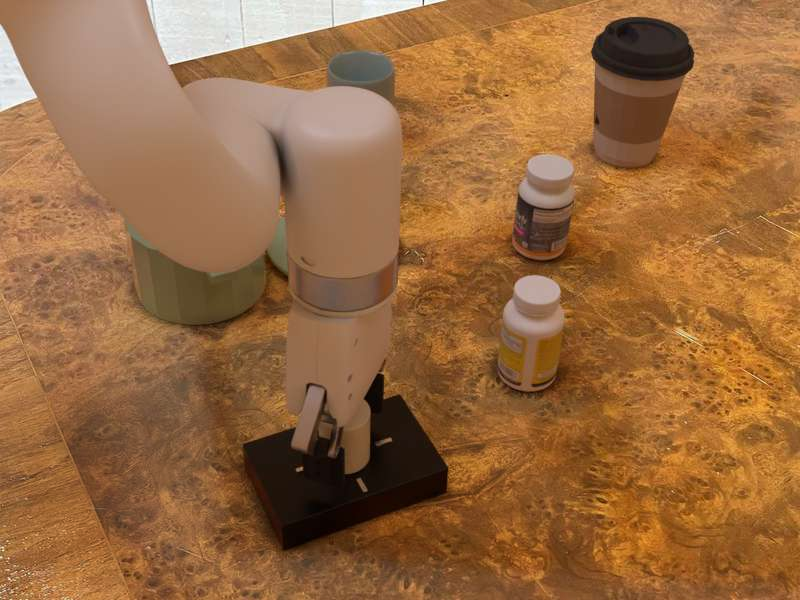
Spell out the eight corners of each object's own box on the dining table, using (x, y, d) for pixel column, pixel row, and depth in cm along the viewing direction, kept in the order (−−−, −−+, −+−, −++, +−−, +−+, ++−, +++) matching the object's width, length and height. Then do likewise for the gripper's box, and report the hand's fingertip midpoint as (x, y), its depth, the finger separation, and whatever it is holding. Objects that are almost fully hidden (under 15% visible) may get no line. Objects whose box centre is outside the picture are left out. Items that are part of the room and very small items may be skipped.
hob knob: (378, 465, 84) (379, 418, 81) (330, 481, 83) (330, 434, 79) (357, 430, 87) (357, 384, 83) (311, 445, 85) (310, 398, 82)
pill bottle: (507, 231, 114) (516, 151, 107) (559, 229, 114) (572, 149, 108) (517, 263, 109) (527, 182, 103) (571, 261, 110) (585, 181, 103)
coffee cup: (577, 122, 131) (595, 7, 122) (671, 132, 130) (696, 17, 121) (574, 172, 123) (593, 53, 113) (674, 183, 122) (702, 63, 112)
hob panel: (283, 551, 81) (281, 524, 79) (244, 468, 87) (242, 442, 85) (446, 492, 86) (449, 466, 84) (399, 418, 92) (400, 392, 90)
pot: (164, 357, 97) (153, 285, 92) (116, 247, 109) (103, 178, 104) (294, 321, 101) (291, 250, 96) (233, 219, 114) (227, 151, 108)
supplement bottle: (557, 356, 99) (571, 274, 92) (553, 397, 95) (568, 314, 88) (499, 348, 99) (509, 266, 93) (493, 389, 95) (503, 305, 89)
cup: (387, 123, 130) (389, 48, 124) (398, 157, 124) (400, 80, 118) (323, 127, 129) (322, 51, 122) (331, 162, 123) (330, 84, 116)
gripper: (340, 187, 80) (342, 360, 91) (235, 332, 67) (252, 511, 78) (435, 209, 78) (425, 382, 89) (346, 362, 65) (347, 541, 77)
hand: (344, 441), depth 84 cm, fingers open, 7 cm apart
